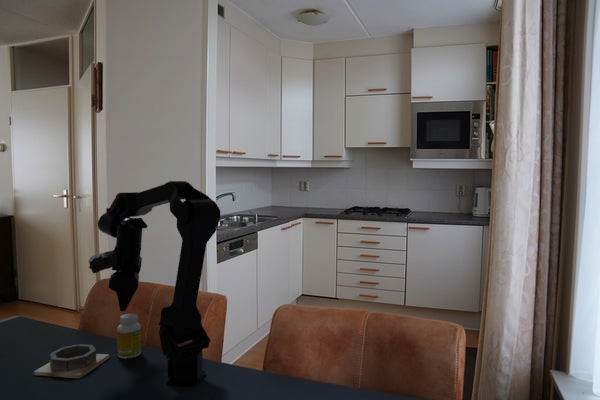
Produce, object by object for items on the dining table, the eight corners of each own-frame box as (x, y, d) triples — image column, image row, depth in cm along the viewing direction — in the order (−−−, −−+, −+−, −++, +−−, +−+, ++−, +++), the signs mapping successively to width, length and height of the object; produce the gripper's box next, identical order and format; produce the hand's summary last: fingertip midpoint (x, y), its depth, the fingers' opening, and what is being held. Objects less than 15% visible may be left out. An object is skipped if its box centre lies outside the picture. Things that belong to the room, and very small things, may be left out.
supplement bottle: (135, 359, 103) (135, 319, 102) (113, 359, 103) (113, 319, 102) (144, 350, 108) (144, 312, 108) (123, 350, 108) (122, 312, 108)
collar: (109, 357, 104) (109, 344, 103) (79, 378, 93) (79, 363, 93) (68, 354, 105) (67, 341, 105) (34, 374, 94) (33, 360, 94)
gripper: (98, 231, 111) (94, 289, 113) (86, 252, 93) (82, 319, 96) (143, 234, 114) (139, 289, 117) (140, 254, 97) (135, 319, 99)
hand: (124, 303), depth 107 cm, fingers open, 9 cm apart
